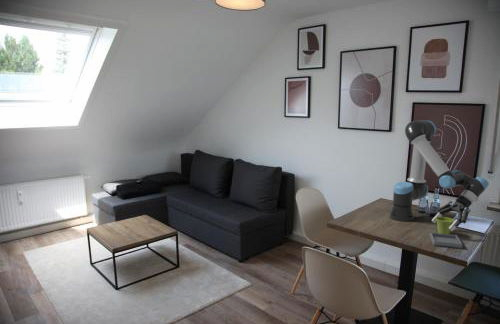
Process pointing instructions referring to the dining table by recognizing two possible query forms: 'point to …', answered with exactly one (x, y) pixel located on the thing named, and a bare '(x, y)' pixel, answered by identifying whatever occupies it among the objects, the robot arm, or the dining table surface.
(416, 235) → the dining table surface
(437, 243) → the tray
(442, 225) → the plant pot
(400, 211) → the robot arm
